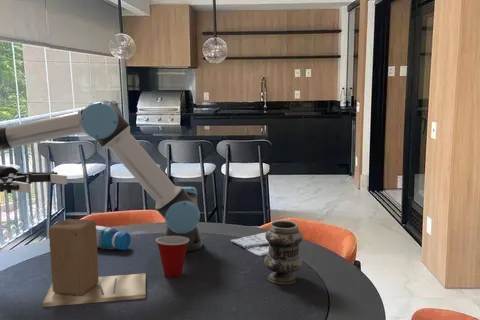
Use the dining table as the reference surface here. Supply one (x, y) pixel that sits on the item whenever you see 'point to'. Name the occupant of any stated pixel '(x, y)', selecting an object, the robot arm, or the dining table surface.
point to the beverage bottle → (112, 238)
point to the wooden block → (74, 256)
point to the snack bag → (254, 244)
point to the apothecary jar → (283, 252)
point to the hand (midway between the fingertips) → (47, 183)
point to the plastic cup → (172, 254)
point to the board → (103, 291)
